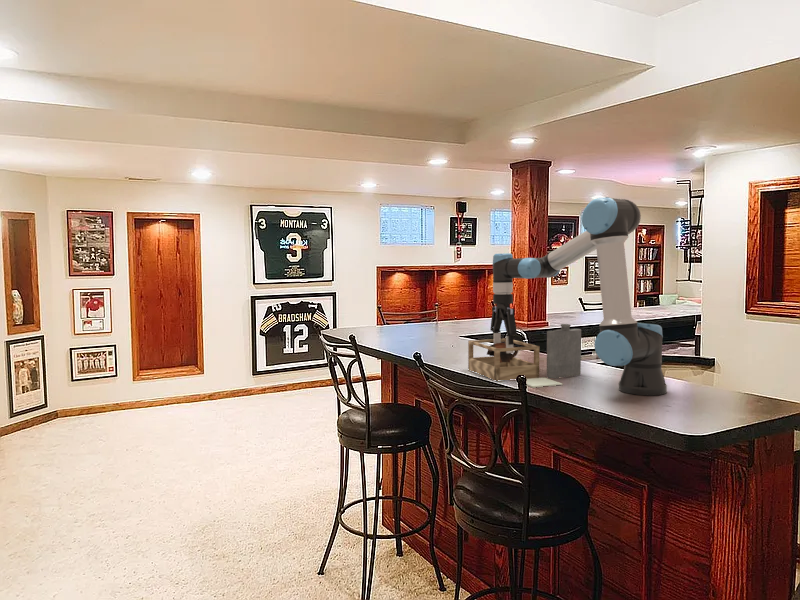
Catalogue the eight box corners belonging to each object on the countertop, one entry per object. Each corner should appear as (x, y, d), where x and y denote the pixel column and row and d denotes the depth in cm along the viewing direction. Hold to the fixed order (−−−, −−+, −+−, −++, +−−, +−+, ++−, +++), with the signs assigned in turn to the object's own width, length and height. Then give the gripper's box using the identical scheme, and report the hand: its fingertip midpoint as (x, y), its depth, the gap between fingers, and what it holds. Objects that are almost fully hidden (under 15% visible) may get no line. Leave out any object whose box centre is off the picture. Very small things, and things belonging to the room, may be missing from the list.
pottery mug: (489, 365, 233) (483, 345, 236) (492, 372, 241) (486, 352, 245) (520, 357, 231) (514, 336, 234) (522, 364, 239) (516, 345, 243)
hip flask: (576, 373, 240) (577, 322, 239) (584, 375, 237) (584, 323, 235) (544, 377, 233) (545, 324, 231) (552, 379, 229) (552, 325, 228)
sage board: (562, 385, 218) (562, 383, 218) (532, 387, 214) (532, 386, 214) (544, 379, 230) (544, 377, 230) (515, 381, 226) (515, 379, 226)
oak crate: (539, 378, 231) (539, 346, 230) (496, 381, 225) (496, 349, 225) (508, 367, 254) (508, 338, 253) (468, 370, 248) (468, 340, 247)
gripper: (526, 294, 228) (526, 354, 229) (498, 292, 249) (498, 347, 250) (508, 295, 226) (508, 355, 227) (481, 292, 247) (481, 348, 248)
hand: (503, 351), depth 239 cm, fingers closed on pottery mug, 9 cm apart
